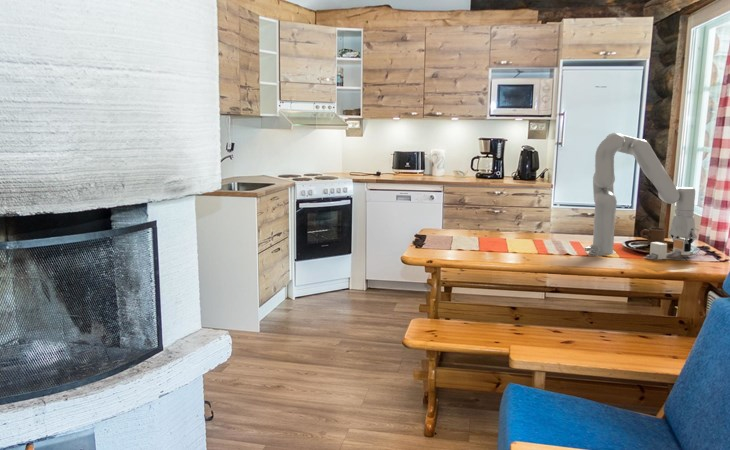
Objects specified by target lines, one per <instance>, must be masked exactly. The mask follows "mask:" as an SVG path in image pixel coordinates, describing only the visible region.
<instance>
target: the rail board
mask: <svg viewBox="0 0 730 450" xmlns="http://www.w3.org/2000/svg"><path fill="white" fill-rule="evenodd" d="M657 257H658V255H657V254H651V255H650V254H645V256H642V258H643V259H647V260H651V261H660V260H663V259H657ZM690 257H691V258H692V257H696V255H694V251H693V250H690V254H688V255H681V252H673V251H672V252H667V255H666V259H665V260H671V259H680V258H681V259H682V258H690Z"/></svg>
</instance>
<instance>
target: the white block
mask: <svg viewBox="0 0 730 450" xmlns="http://www.w3.org/2000/svg"><path fill="white" fill-rule="evenodd" d="M667 253H668V243H665V242H664V243H660V242H651V244H650V246H649V255H651V254H657V255H658V257H657V259H662V260H667V259H666V255H667Z"/></svg>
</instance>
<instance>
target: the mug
mask: <svg viewBox="0 0 730 450" xmlns="http://www.w3.org/2000/svg"><path fill="white" fill-rule="evenodd" d="M665 229H666V228H661V227H649V229H645V228H644V229H642V230H641V231H640V236H641V238H642V239H644V240H647V246H648V245H650V244H651V242H660V243H664V244H665V238H666V237H665V236H666V230H665ZM645 233H647V234H648V235H645Z"/></svg>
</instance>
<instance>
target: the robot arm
mask: <svg viewBox="0 0 730 450" xmlns="http://www.w3.org/2000/svg"><path fill="white" fill-rule="evenodd" d="M617 152H618V153H622V154H626V155H631V156H633V157H634V159H635V160H636V163H637V164H638V166H639V167H640V169H641V170H642V173H643V175H645V177H647V179H648V180H650V182H651V183H652V184H653V186H654V187H655V189H656V191H657V192H658V193H657V194H658V198H659V199H660V200H661V201H662V202H664V203H665V204H669V205H671V204H675V209H674V213H675V214H674V215H673V217H672V221H671V225H670V230H669V231H668V234H669V235H670V237H671V240H672V241H673V242H672V246H673V245H674V238H684V239H685V241H686V243H685V248H684V251H685V252H689V251H692V250H691V249H692V244H693V242H695V241H696V240H697V239H698V236H697V233H696V232H695V231H696V230H695V229H696V223H695V216H694V213H695V200H696V188H694V187H689V186H681V187H678V186H676V185H675V183H674V181H673V180H672V178H671V177H670V175H669V174H668V173H667V170H666V169H665V167H664V166H663V164H662V163H661V160H660V159H659V158H658V157H657V155H656V153H655V151H654V150H653V148H652V145H650V143H649V141H647V140H645V139H642V138H638V137H632V136H629V135H625V134H622V133H619V132H612V133H609V134H608V135H607V136H606V137H605V138H604V139H603V140H602V141H601V142H600V144H598V146H597V148H596V151H595V155H594V157H595V158H594V159H595V160H594V163H595V164H594V167H595V168H594V169H595V170H594V171H595V172H594V174H593V177H592V185H593V186H592V188H593V200H594V215H593V216H594V217H593V235H592V236H593V237H592V244H591V245H590V246H584V248H583V249H584V251H585V252H588V254H590V255H593V256H597V257H605V256H607V255H615V254H617V252H616V251H615V250H614V241H615V227H616V226H615V223H616V211H617V205H618V204H617V202H618V201H617V198H616V196H615V193H614V183H615V181H616V176H615V156H616V155H615V154H616V153H617ZM688 239H689V240H688Z"/></svg>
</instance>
